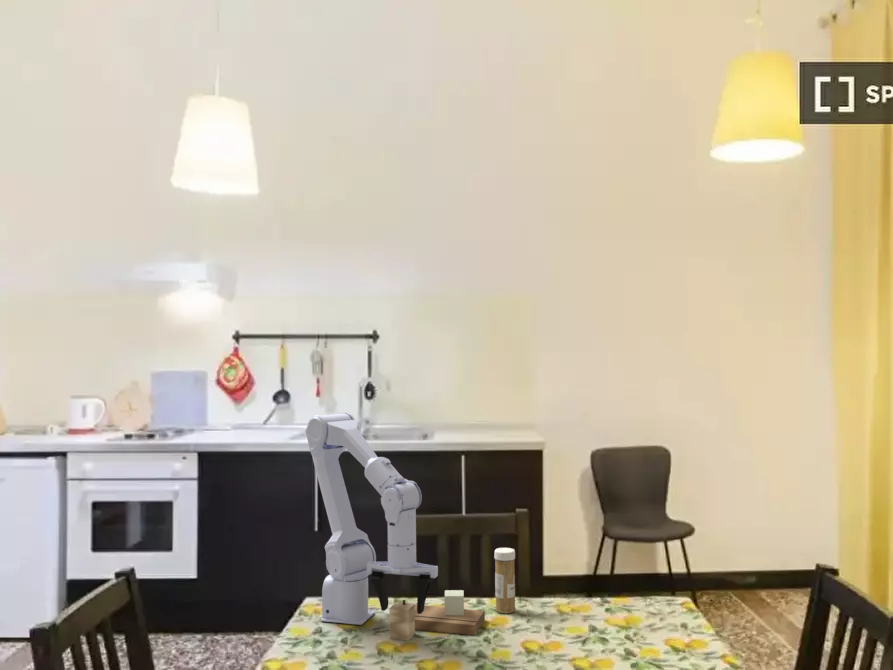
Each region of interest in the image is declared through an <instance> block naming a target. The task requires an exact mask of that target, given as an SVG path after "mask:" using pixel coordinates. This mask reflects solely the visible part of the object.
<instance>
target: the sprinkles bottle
mask: <svg viewBox="0 0 893 670" xmlns="http://www.w3.org/2000/svg"><path fill="white" fill-rule="evenodd" d="M493 558H494V561H495V564H494V565H495V566H494V567H495V568H494V569H495V573H494V585H495V587H494V590H495V592H494V596H495V607H494V608H495V609H494V610H495V612H497V613H499V614H507V615H508V614H512V613H515V611H516V580H515V579H516V575H515V559H516V551H515V548H511V547H498V548H496V549H495V550H494V556H493Z"/></svg>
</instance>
